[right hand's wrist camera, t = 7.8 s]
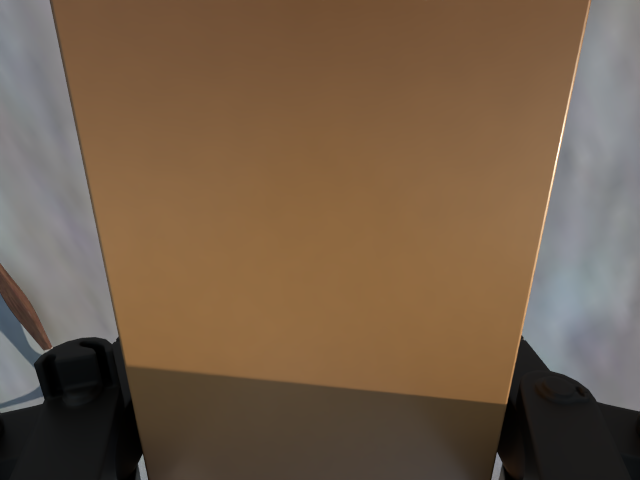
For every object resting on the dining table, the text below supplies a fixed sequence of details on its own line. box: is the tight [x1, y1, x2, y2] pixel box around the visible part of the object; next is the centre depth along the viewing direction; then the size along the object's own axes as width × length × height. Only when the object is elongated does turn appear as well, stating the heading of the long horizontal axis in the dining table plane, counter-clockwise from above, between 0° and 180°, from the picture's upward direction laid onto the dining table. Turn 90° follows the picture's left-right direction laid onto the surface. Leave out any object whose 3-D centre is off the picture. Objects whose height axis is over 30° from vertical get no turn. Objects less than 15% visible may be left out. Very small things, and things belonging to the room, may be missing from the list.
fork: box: [0, 264, 53, 352], centre depth 26 cm, size 3×16×2 cm, turn 17°
